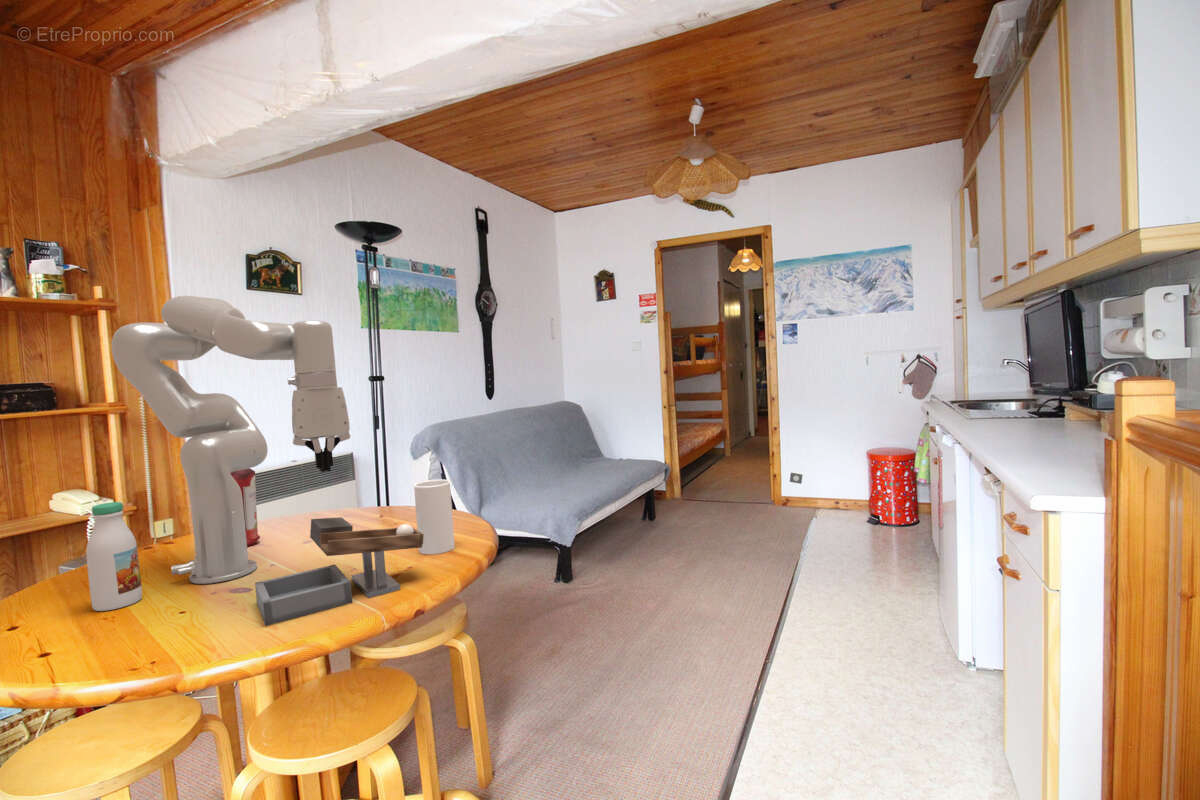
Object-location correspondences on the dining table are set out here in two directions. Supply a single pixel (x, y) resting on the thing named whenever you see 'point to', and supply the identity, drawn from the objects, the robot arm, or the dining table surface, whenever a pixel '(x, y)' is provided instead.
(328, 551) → the trough
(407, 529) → the ball
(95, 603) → the milk bottle
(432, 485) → the cup
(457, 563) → the dining table surface
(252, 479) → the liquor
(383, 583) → the pivot stand
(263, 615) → the tray
